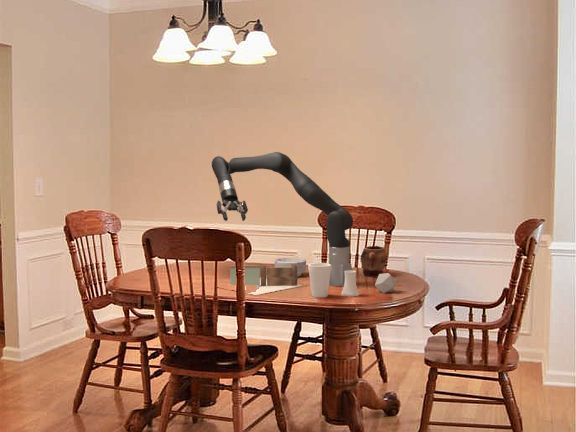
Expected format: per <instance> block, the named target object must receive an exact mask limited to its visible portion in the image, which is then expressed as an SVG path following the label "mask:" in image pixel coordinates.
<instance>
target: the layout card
mask: <svg viewBox="0 0 576 432" xmlns="http://www.w3.org/2000/svg"><path fill="white" fill-rule="evenodd" d="M256 286H257V287H256V288H259V289H257V290H256V292H251V293H248V294H247V295H249V294H252V295H251V296H254V295H258V296H261V295H260V294H263V295H266V294H265V293H267V294H271V293H270V292H272V293H276V292H275V291H277V292H281V291H280V290H282V291H285V290H286V289H287V290H290V289H291V288H292V289H295V288H300V287H301V288H302V287H304V286H303V285H302V284H298V283H297V286H267V278H266V286H261V278H260V285H256ZM258 286H259V287H258ZM254 289H255V288H254ZM245 290H246V286H245ZM250 290H251V289H250Z"/></svg>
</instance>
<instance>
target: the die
mask: <svg viewBox="0 0 576 432" xmlns="http://www.w3.org/2000/svg"><path fill="white" fill-rule="evenodd" d="M397 282H398V280H397V279H395V277H393V276H392V275H391V274H390V273H388V272H386V273H385V272H383V274H379V276H378V277H377V279H376V281H375V284H374V287H376V288H377V289H379V291H380V292H382V293H383V294H388V293H393V291H394V290H395V287H396V284H397Z"/></svg>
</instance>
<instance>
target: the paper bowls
mask: <svg viewBox="0 0 576 432" xmlns="http://www.w3.org/2000/svg"><path fill="white" fill-rule="evenodd" d="M293 264H296V265H297V278H298V277H301V276H302V274H303V272H305V271H306V270H307V259H304V258H300V257H279V258H274V267H292V265H293Z"/></svg>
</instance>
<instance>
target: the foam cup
mask: <svg viewBox="0 0 576 432" xmlns="http://www.w3.org/2000/svg"><path fill="white" fill-rule="evenodd" d="M307 265H308V266H307V269H308V275H309V281H310V282H309V283H310V289H311V290H310V291H311V295H312V297H313V298H327V297H328V293H329V286H330V285H329V280H330V272H331V264H329V262H328V263H325V262H312V263H309V264H307Z"/></svg>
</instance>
